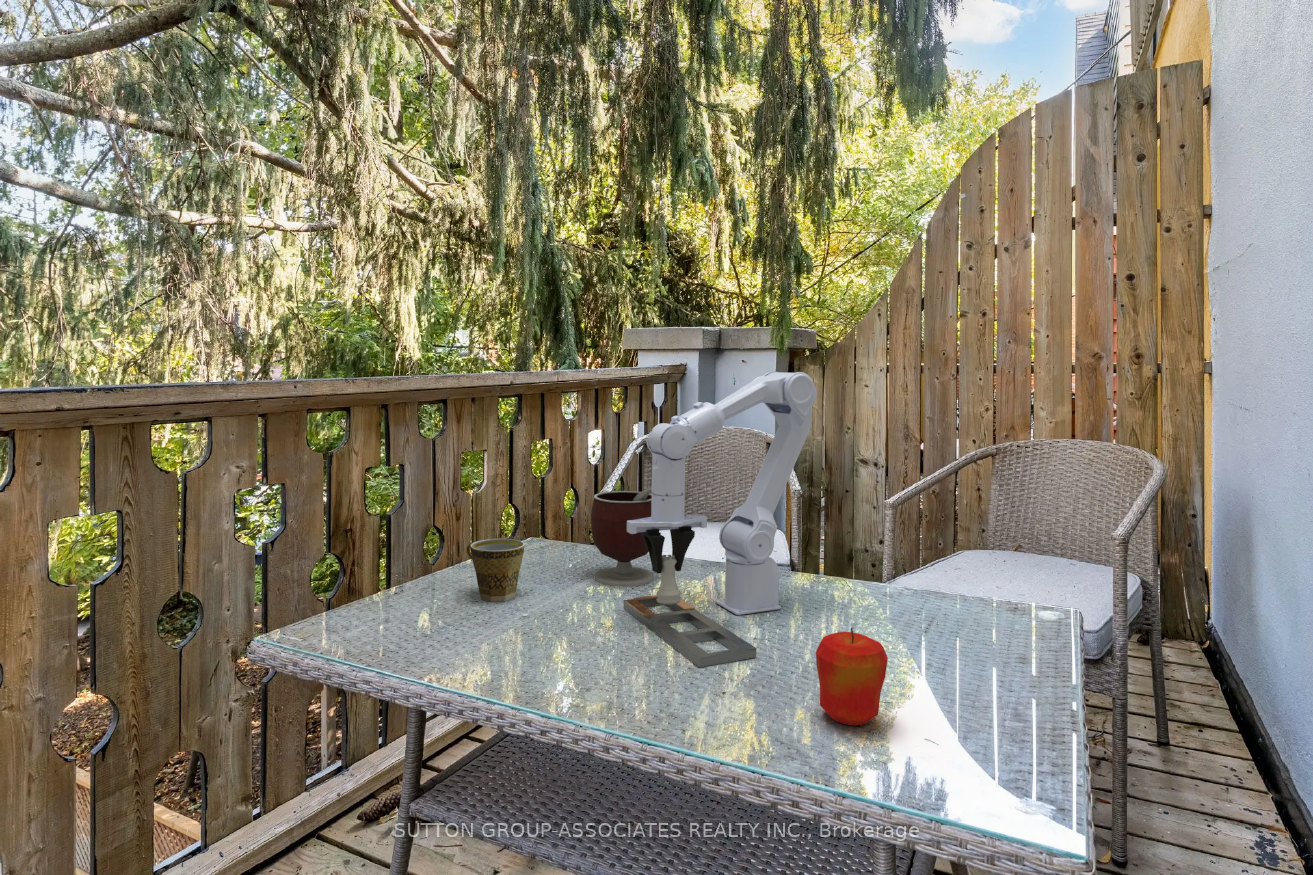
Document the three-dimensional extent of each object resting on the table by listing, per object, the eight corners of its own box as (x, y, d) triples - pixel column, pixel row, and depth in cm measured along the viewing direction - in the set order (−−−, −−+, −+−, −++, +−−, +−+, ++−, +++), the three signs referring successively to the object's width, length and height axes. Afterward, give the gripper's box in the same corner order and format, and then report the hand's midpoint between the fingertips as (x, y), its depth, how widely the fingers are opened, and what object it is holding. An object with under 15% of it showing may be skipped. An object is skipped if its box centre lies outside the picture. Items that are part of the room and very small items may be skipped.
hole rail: (672, 602, 140) (672, 593, 140) (756, 657, 114) (756, 646, 114) (623, 608, 136) (623, 599, 136) (699, 667, 110) (699, 656, 110)
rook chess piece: (674, 605, 127) (672, 558, 127) (651, 603, 130) (649, 557, 129) (686, 600, 131) (685, 554, 131) (664, 598, 133) (662, 553, 133)
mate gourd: (576, 576, 156) (577, 481, 154) (627, 565, 166) (629, 475, 164) (625, 593, 145) (626, 491, 143) (676, 580, 154) (678, 484, 152)
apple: (809, 727, 92) (812, 633, 91) (819, 699, 100) (822, 612, 99) (881, 740, 89) (886, 643, 88) (886, 710, 97) (890, 621, 96)
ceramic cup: (535, 594, 143) (535, 543, 142) (498, 608, 135) (497, 553, 134) (486, 583, 150) (486, 534, 149) (447, 595, 142) (447, 543, 141)
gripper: (639, 499, 123) (637, 581, 124) (716, 494, 129) (714, 572, 130) (622, 493, 129) (621, 570, 130) (696, 488, 135) (695, 562, 137)
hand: (666, 570), depth 131 cm, fingers closed on rook chess piece, 3 cm apart
